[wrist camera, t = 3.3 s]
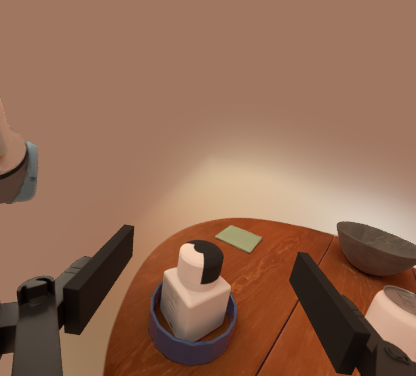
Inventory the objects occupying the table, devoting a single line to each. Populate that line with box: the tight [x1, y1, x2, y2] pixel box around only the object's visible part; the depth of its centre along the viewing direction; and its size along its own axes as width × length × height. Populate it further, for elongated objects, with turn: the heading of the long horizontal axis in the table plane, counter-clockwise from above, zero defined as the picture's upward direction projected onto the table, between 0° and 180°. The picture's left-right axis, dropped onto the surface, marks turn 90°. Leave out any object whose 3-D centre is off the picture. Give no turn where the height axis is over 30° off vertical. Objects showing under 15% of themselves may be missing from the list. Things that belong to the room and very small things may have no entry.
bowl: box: [337, 222, 416, 276], centre depth 55 cm, size 19×19×10 cm
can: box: [365, 285, 416, 362], centre depth 29 cm, size 6×6×12 cm
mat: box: [215, 225, 262, 254], centre depth 61 cm, size 11×11×1 cm
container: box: [160, 240, 231, 343], centre depth 31 cm, size 8×8×13 cm
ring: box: [148, 281, 237, 366], centre depth 32 cm, size 13×13×4 cm
